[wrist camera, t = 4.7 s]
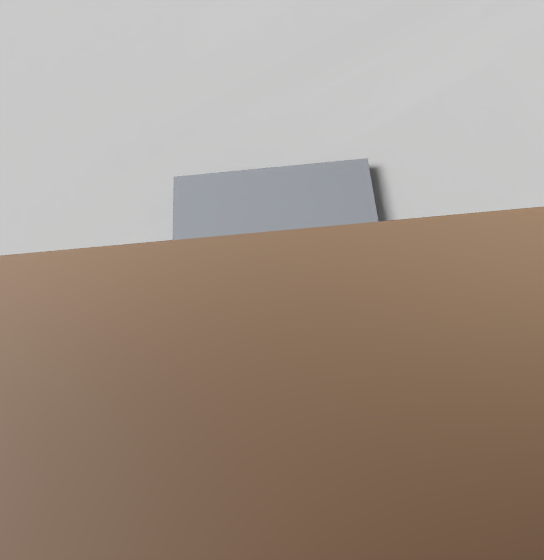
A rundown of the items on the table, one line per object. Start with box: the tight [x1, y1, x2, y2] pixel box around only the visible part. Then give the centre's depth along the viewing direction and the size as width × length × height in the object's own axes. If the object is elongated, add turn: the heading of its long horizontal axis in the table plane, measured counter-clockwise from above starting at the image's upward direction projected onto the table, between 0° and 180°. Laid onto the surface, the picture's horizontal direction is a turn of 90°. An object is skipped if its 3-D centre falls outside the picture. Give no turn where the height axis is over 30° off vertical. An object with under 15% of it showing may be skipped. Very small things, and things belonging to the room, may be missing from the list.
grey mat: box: [173, 159, 379, 240], centre depth 18 cm, size 8×8×1 cm
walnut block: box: [0, 207, 544, 560], centre depth 9 cm, size 4×4×14 cm
